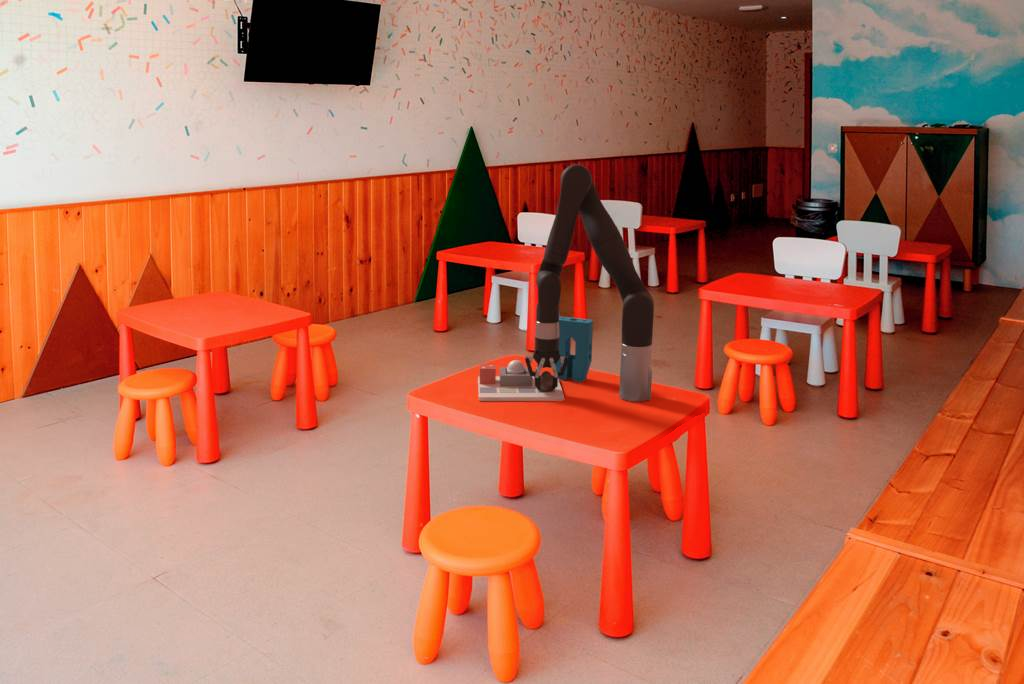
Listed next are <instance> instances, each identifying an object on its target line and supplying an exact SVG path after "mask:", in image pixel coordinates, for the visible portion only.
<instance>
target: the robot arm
mask: <svg viewBox="0 0 1024 684" xmlns="http://www.w3.org/2000/svg"><path fill="white" fill-rule="evenodd" d="M559 192H560V193H559V200H558V205H557V210H556V213H555V217H554V219H553V223H552V224H551V225H552V226H551V229H550V232H549V235H548V239H547V243H546V246H545V251H544V254H543V258H542V261H541V264H540V266H539V268H538V271H537V274H536V279H535V280H536V281H535V285H536V286H537V305H536V311H535V312H536V314H535V327H534V351H533V354H531V355H529V356H528V355H526V356H524V360H525V365H526V367H527V368H528V371H529V374H530V376H534V377H535V387H537V389H540V378H539V376H540V375H541V372H542V370H543V369H544V368H545V369H546V368H549V369H551V371H552V375H553V389H555V387H557V386H558V380H559V379H558V377H559V376H563V375H564V372H565V370H566V367H567V364H568V361H569V359H568V357H567V356H561V355H560V353H559V336H560V327H559V317H560V301H561V292H562V282H561V279H560V278H561V273H562V270H563V267H564V265H565V264H566V262H567V260H568V257H569V253H570V249H571V246H572V242H573V238H574V234H575V233H574V231H575V227H576V223H577V219H578V215H580V218H581V220H582V224H583V227H584V230H585V233H586V235H587V238H588V241H589V243H590V246H591V247H592V249H593V252H594V253H595V256H596V258H597V259H598V261H599V262H600V264H601V265H602V266H603V268H604V269H605V271H606V272H607V274H608V275H609V276H610V278H611V279H612V281H613V282H614V284H615V286H616V288H617V290H618V292H619V295H620V298H621V301H622V313H621V314H622V316H621V344H620V345H621V347H620V349H621V350H620V366H619V367H620V370H619V390H618V392H619V394H618V398H620V399H622V400H625V401H628V402H645V401H651V398H652V381H653V380H652V379H653V369H652V367H651V366H652V353H653V351H652V350H653V349H652V348H653V335H654V332H653V330H654V314H655V312H654V311H655V310H654V309H655V301H654V298H653V296H652V295H651V293H650V291H649V290H648V289H647V287H646V286H645V283H644V282H643V281H642V279H641V278H640V276H639V274H638V272H637V270H636V268H635V265H634V262H633V260H632V256H631V255H630V251H629V250H628V248H627V244H626V243H625V241H624V238H623V236H622V235H621V232H620V230H619V228H618V226H617V225H616V223H615V221H614V220H613V219H612V217H611V215H610V213H609V212H608V211H607V209H606V208H605V206H604V204H603V203H602V200H601V198H600V197H599V196H600V195H599V194H598V191H597V187H596V185H595V183H594V180H593V176H592V173H591V172H590V170H589V168H588V167H586V166H585V165H583V164H577V163H575V164H571V165H569V166H567V167H566V168H565V169H564V170H563V171H562V172H561V175H560V191H559ZM559 359H561V363H562V365H561V368H560V371H558V372H557V370H556V367H555V364H556V363H557V362H558V360H559ZM533 360H534V361H535V362H536V364H537V365H536V369H535V371H534V370H533V367H532V363H533Z"/></svg>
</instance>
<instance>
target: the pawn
mask: <svg viewBox="0 0 1024 684" xmlns="http://www.w3.org/2000/svg"><path fill="white" fill-rule="evenodd" d="M553 376H554V374H552V373H551V372H550V371H548V370H544V371H543V372H542V373H541V374H540V375H539V378H540V389H539V390H540V391H542V392H551V391H553Z"/></svg>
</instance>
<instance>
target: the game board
mask: <svg viewBox="0 0 1024 684" xmlns="http://www.w3.org/2000/svg"><path fill="white" fill-rule="evenodd" d="M477 387H478V389H477V390H478V391H477V392H478V401H479V402H532V401H533V402H546V401H547V402H549V401H550V402H560V401H561V402H562V401H565V395H564V392H563V390H562V386H561V384H560V379H558V386H557V387H555V389H553V391H551V392H542V391H540V390H539V389H537V387H535V377H534V376H532V386H500V378H499V375H497V376H496V384H480V375H479V376H477Z"/></svg>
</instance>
